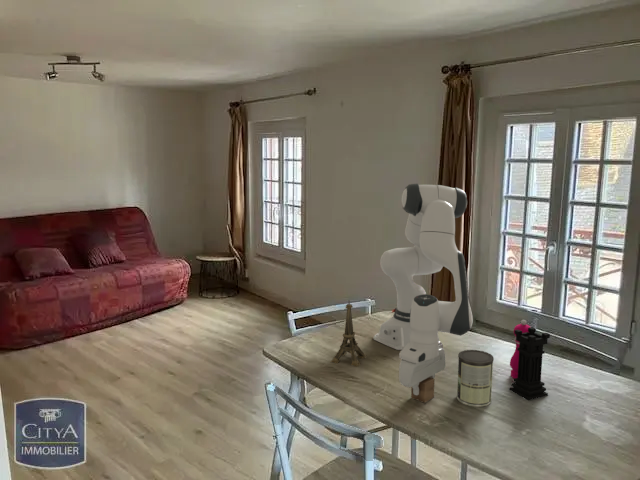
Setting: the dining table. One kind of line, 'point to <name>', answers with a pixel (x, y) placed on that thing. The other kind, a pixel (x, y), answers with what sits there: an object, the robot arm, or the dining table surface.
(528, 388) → the chess piece
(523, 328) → the pepper mill
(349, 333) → the eiffel tower
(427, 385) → the walnut block
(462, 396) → the coffee can
